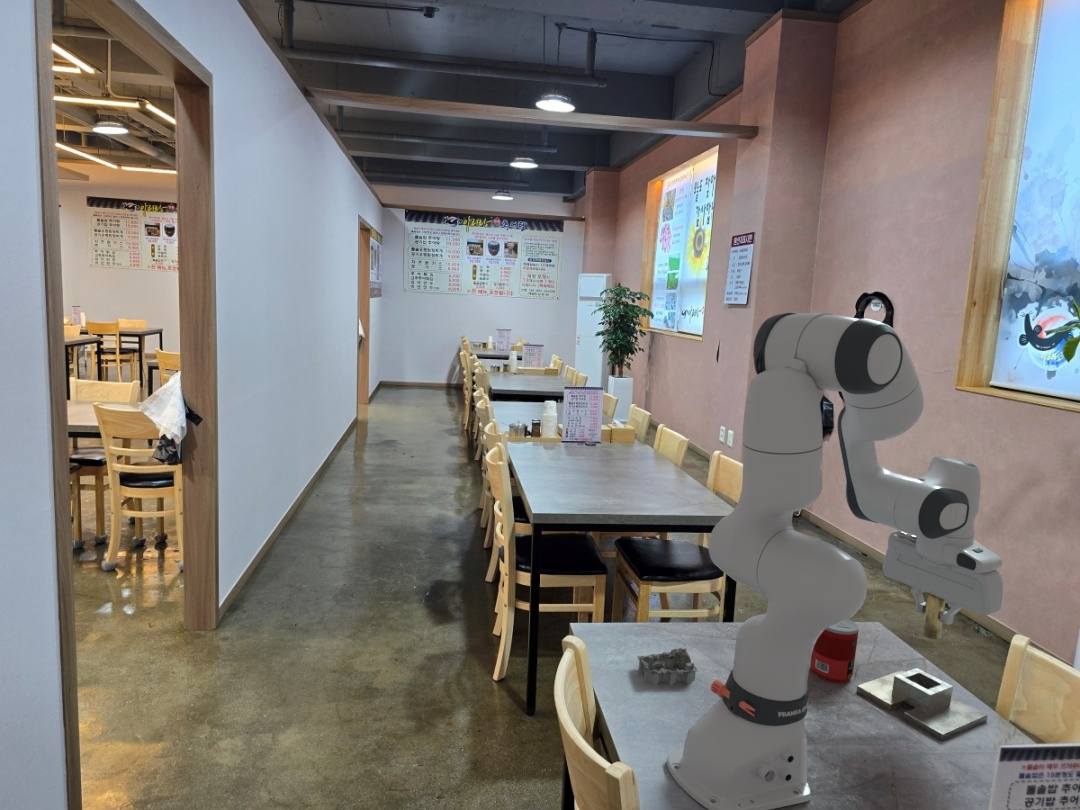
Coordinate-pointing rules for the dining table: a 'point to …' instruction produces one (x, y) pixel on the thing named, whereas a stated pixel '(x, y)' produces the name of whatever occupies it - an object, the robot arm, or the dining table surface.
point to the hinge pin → (933, 616)
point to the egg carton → (667, 661)
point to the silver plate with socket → (923, 702)
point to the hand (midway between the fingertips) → (933, 617)
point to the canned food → (835, 652)
